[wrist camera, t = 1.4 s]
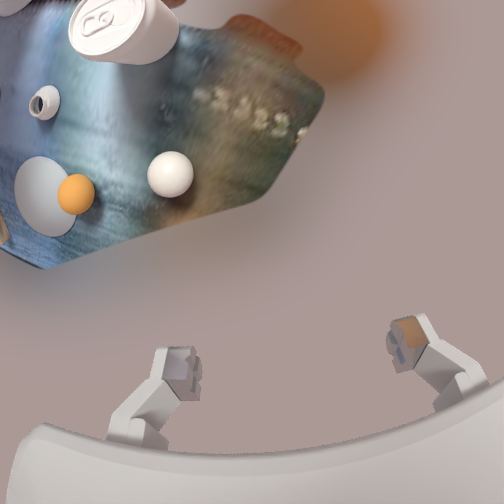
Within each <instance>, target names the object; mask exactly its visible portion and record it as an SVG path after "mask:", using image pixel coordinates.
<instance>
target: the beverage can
mask: <svg viewBox="0 0 504 504" xmlns="http://www.w3.org/2000/svg"><path fill="white" fill-rule="evenodd" d="M68 34H69V40H70V42H71V44H72V46H73V47H74V49H75V50H76V51H77V52H78V53H79V54H80V55H81V56H82V57H84V58H86V59H88V60H91V61H98V62H113V63H124V64H133V65H144V64H149V63H152V62H155V61H157V60H159V59H160V58H162V57H163V56H165V55H166V54H167V53H168V52H169V51H170V50H171V49H172V47H173V46H174V44H175V42H176V40H177V38H178V34H179V23H178V20H177V18H176V16H175V15H174V14H173V12H172V11H171V10H170V9H169V8H168V7H167V6H166V5H165V4H164V3H163V2H162V1H161V0H82V1H81V2H80V4H79V5H78V6H77V8H76V9H75V11H74V13H73V15H72V17H71V20H70V23H69V30H68Z"/></svg>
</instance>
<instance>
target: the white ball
mask: <svg viewBox="0 0 504 504" xmlns="http://www.w3.org/2000/svg"><path fill="white" fill-rule="evenodd" d="M193 174H194V172H193V167H192V164H191V162H190V161H189V159H188V158H187V157H186V156H184V155H183V154H181V153H178V152H174V151H170V152H164V153H162V154H160V155H158V156H157V157H156V158H155V159H154V160H153V161H152V162H151V164H150V166H149V169H148V174H147V175H148V182H149V185H150V187H151V188H152V189H153V191H154V192H155V193H157V194H158V195H160V196H163V197H169V198H171V197H176V196H179V195H181V194H183V193H184V192H185V191H186V190H187V189H188V188H189V187H190V185H191V183H192V180H193Z"/></svg>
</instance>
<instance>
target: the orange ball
mask: <svg viewBox="0 0 504 504" xmlns="http://www.w3.org/2000/svg"><path fill="white" fill-rule="evenodd" d="M94 195H95V191H94V186H93V184H92V182H91V181H90V179H89V178H87V177H86V176H84V175H81V174H73V175H70V176H68V177H67V178H66V179H64V180H63V182H62V183H61V185H60V187H59V189H58V202H59V205H60V207H61V208H62V209H63V210H64V211H65V212H66V213H68V214H72V215H78V214H81V213H83V212H85V211H86V210H88V209H89V207H90V206H91V204H92V203H93V200H94Z"/></svg>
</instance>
